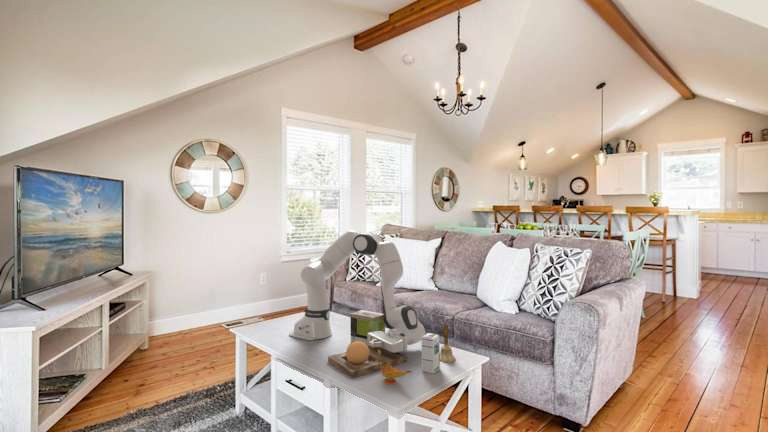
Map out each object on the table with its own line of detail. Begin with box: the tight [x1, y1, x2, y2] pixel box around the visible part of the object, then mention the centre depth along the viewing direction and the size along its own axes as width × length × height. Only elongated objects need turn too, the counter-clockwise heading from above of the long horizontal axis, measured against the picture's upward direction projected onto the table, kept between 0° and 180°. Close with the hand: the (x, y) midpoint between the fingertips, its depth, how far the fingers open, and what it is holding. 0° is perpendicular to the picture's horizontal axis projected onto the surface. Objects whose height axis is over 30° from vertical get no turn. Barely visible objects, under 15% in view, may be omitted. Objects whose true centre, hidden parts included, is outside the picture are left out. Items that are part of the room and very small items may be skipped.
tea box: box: [350, 309, 386, 346], centre depth 197 cm, size 15×10×15 cm, turn 54°
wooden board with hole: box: [327, 346, 408, 379], centre depth 173 cm, size 28×20×2 cm
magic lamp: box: [377, 349, 413, 385], centre depth 153 cm, size 7×18×11 cm, turn 48°
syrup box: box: [420, 332, 441, 374], centre depth 164 cm, size 6×6×14 cm
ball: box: [345, 341, 369, 366], centre depth 170 cm, size 10×10×10 cm
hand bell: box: [440, 322, 457, 363], centre depth 176 cm, size 8×8×16 cm
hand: (370, 344), depth 173 cm, fingers closed
